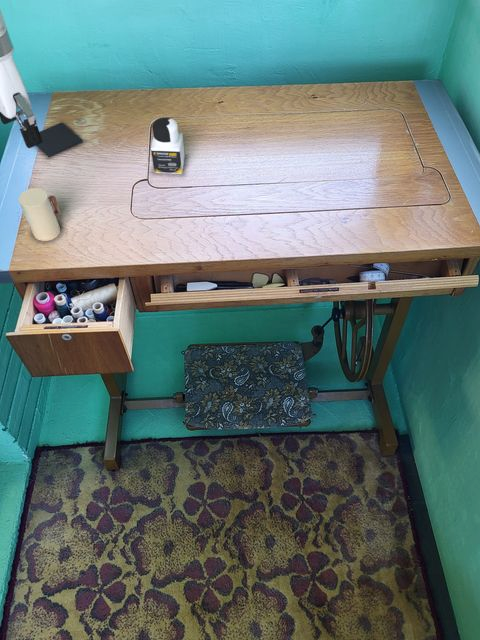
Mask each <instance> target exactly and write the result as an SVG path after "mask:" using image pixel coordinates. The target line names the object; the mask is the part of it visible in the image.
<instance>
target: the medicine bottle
mask: <svg viewBox="0 0 480 640" xmlns="http://www.w3.org/2000/svg"><path fill="white" fill-rule="evenodd" d="M151 128H152V134H153V137H152V142H151V147H150V153H151V161H152V167H153V172H154V173H155V174H173V175H174V174H175V175H176V174H177V175H182V174H183V173H184V172H183V171H184V165H185V158H186V157H185V146H184V136H183V133H182V132H179V125H178V123H177V121H176V120H174V119H173V118H170V117H160V118H157V119H155V120H154V121H153V123H152V124H151Z"/></svg>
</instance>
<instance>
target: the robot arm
mask: <svg viewBox="0 0 480 640" xmlns="http://www.w3.org/2000/svg"><path fill="white" fill-rule="evenodd" d="M14 52H15V48H14V45H13V42H12V39H11V36H10V33H9V30H8V27H7V25H6V21H5V19H4V16H3V13H2V9H0V122H2V124H3V125H7V124H10V123H12V122H14V121H17V123H18V125H19V127H20V128H19V131H20V134H21V137H22V139H23V142H24V144H25V146H26V148H27V149H32V148H33V147H37V146H36V145H38V144H41V143H42V142H43V140H42V138H41V135H40V129H39V127H38V123H37V120H36V116H35V114H34V112H33V109H32V108H33V107H32V103H31V100H30V97H29V94H28V91H27V89H26V85H25V83H24V81H23V78H22V75H21V73H20V71H19V69H18V66H17V64H16V62H15V60H14V58H13V54H14ZM18 109H19V110H18ZM17 110H18V111H17ZM23 115H24V118H25V119H23V120H22V118H21V116H23Z"/></svg>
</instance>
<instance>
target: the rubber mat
mask: <svg viewBox="0 0 480 640" xmlns="http://www.w3.org/2000/svg"><path fill="white" fill-rule="evenodd" d="M39 132H40V135H41V138H42V140H43V142H42V143H41V144H38V145H36V146H35V147H37V148H38V150H40V151H41V152H42V153H44V155H45V156H46V157H48V158H51V157H54V156H56V155H57V154H61V153H63V152H64V151H67V150H69V149H72V148H73V147H77V146H78V145H80V144H82V143H83V140H82V139H81V138H80V137H79V135H77V134H76V133H75V132H74V131H73V130H71V129H70V128H69V127H68V126H67V125H66V124H64V123H63V122H59V123H57V124H55V125H52V126H50V127H48V128H45V129H43V130H41V131H40V130H39Z"/></svg>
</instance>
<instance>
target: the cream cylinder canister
mask: <svg viewBox="0 0 480 640" xmlns="http://www.w3.org/2000/svg"><path fill="white" fill-rule="evenodd" d="M17 199H18V200H17V201H18V204H19V206H20V208H21V210H22V212H23V214H24V217H25V219H26V222H27V223H28V225H29V227H30V230H31V232H32V235H33V237H34V238H35V239H36V240H39V241H41V242H47V241H52V240H54V239H56V238H57V237H58V236H59V235H60V233H61V227H60V223H59V222H58V219H57V217H59V216H60V215H61V209H60V207H59V203H58V202H57V198H56V196H55V195H48V192H47V191H46V190H44V189H42V188H40V187H32V188H28V189H25V190H23V191H22V192H21V193H20V194H19V195H18V198H17Z"/></svg>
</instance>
